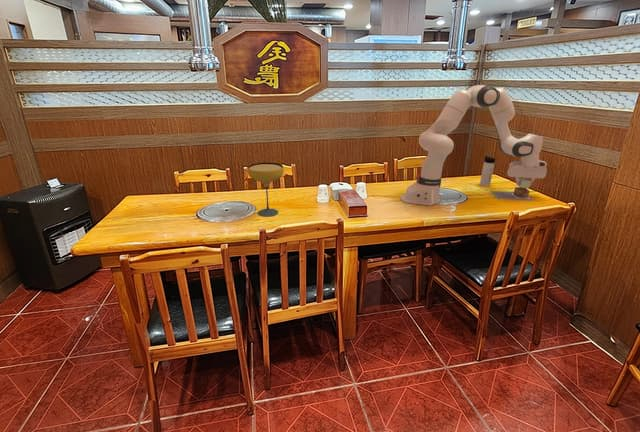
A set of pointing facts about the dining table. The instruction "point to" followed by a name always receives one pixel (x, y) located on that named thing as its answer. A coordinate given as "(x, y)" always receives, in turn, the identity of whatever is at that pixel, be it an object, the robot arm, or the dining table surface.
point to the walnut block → (521, 192)
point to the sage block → (524, 183)
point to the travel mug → (487, 171)
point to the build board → (508, 196)
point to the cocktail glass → (266, 180)
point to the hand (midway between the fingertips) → (523, 184)
